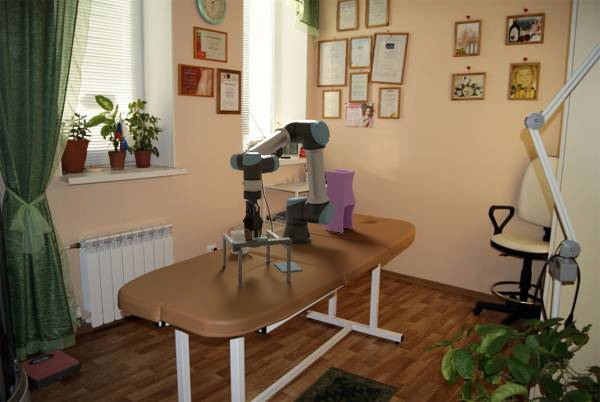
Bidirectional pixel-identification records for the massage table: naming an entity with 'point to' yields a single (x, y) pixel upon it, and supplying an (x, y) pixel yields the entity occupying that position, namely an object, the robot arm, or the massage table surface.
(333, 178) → the purple arched stand
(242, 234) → the mug
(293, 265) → the mat
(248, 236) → the coffee cup
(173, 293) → the massage table surface
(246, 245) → the bar
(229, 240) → the frame
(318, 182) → the robot arm
